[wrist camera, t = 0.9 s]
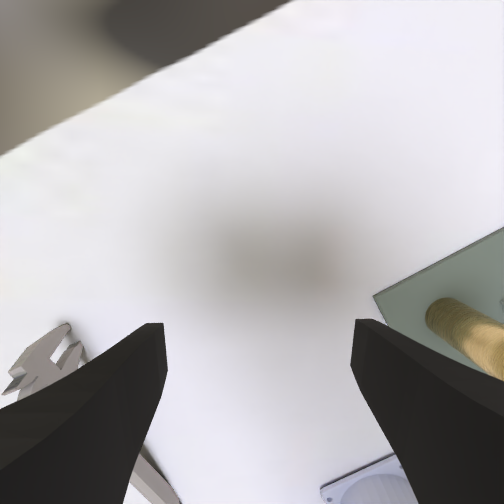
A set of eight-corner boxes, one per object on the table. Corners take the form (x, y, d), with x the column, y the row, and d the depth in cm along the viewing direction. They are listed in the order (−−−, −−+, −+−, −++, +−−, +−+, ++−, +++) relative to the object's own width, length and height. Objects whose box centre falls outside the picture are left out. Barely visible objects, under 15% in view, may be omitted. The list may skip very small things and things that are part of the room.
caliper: (58, 325, 22) (-15, 376, 16) (70, 320, 22) (1, 369, 16) (177, 510, 26) (154, 608, 20) (187, 506, 26) (168, 603, 20)
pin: (470, 322, 22) (622, 412, 13) (434, 340, 22) (558, 440, 13) (455, 290, 21) (604, 360, 12) (418, 309, 21) (537, 391, 12)
